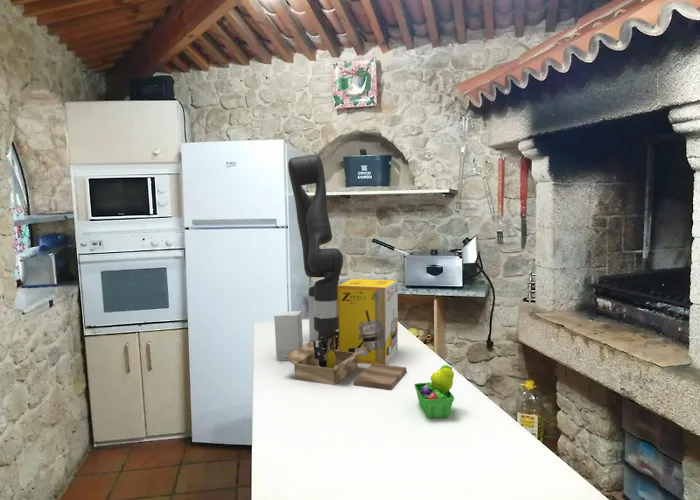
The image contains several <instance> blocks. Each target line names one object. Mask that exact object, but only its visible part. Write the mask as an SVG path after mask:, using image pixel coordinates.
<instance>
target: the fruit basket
mask: <svg viewBox="0 0 700 500" xmlns="http://www.w3.org/2000/svg"><path fill="white" fill-rule="evenodd" d="M454 375H455V372H454V370H453V366H450V365H448V364H444V365H442V366H441V367H440V369H438V370H436V371H434V372H433V373H432V374H431V375H430V380H431V381H428V382H417V383H414V388H415V391H416V395H417V399H418V404H419V405H420V407H421V409H422V411H423V412H424V414H425V415H426V418H428V419H432V418H434V419H436V418H437V419H438V418H439V417H440V418H449V416H450V413H451V409H452V406H453V403H454V401H455V396H454V395H453V394H452V393H451V389H452V387H453V384H454Z"/></svg>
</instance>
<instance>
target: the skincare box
mask: <svg viewBox="0 0 700 500" xmlns="http://www.w3.org/2000/svg"><path fill="white" fill-rule="evenodd" d="M273 318H274V335H275V352H276V353H275V354H276V361H288V362H289V360H287V359H286V358H285V356H286V355H288V354H289V353H291V352H293V351H295V350H297V349H298V348H300V347H302V346H304V339H303V338H304V337H303V317H302V311H301V310H292V311H291V310H289V311H288V310H287V311H286V310H284V311H283V310H282V311H277V313H275V315H274V317H273Z"/></svg>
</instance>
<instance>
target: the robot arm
mask: <svg viewBox="0 0 700 500" xmlns="http://www.w3.org/2000/svg"><path fill="white" fill-rule="evenodd" d="M287 167H288V174H289V179H290V184H291V189H292V193H293V197H294V198H293V199H294V203H295V209H296V219H297V224H298V225H297V226H298V230H299V235H300V241H301V247H302V256H303V257H302V258H303V266H304V267H303V268H304V273H305V275H306V276H307V277H308V278H322V279H319V280H317V281H315V282H314V285H312V286H310V287H309V288H308V323H309V324H308V325H309V326H308V328H309V329H308V331H309V333H308V334H309V335H308V336H309V342H311V341H312V342H313V346H314V356H315V359H318V360H319V364H318V367H326V368H327V362H326V358H327V353H328V352H329V348H330V349H332V350H333V351H334V353H336V351H338V343H339V331H338V329H339V306H338V285H339V281H340V276H341V272H342V269H343V264H344V256H343V254H342V251H341V250H340V249H339V248H335V247H333V248H320V246H322V245H325V244H328V243H330V242H331V241H332V239H333V232H332V229H331V227H332V226H331V223H330V219H329V213H328V210H329V209H328V198H327V196H328V195H327V188H326V178H325V170H324V164H323V160H322V158H321V156H320V155H319V154H316V153H315V154H308V155H302V156H295V157H291V158H290V159H288V164H287ZM313 184H315V192H314V195H313V199H312V198H311V197H310V195H308V194H307V193H306V191H305V188H304V187H303V186H307V185H313ZM324 348H326V349H324ZM323 352H324V354H323Z"/></svg>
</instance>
